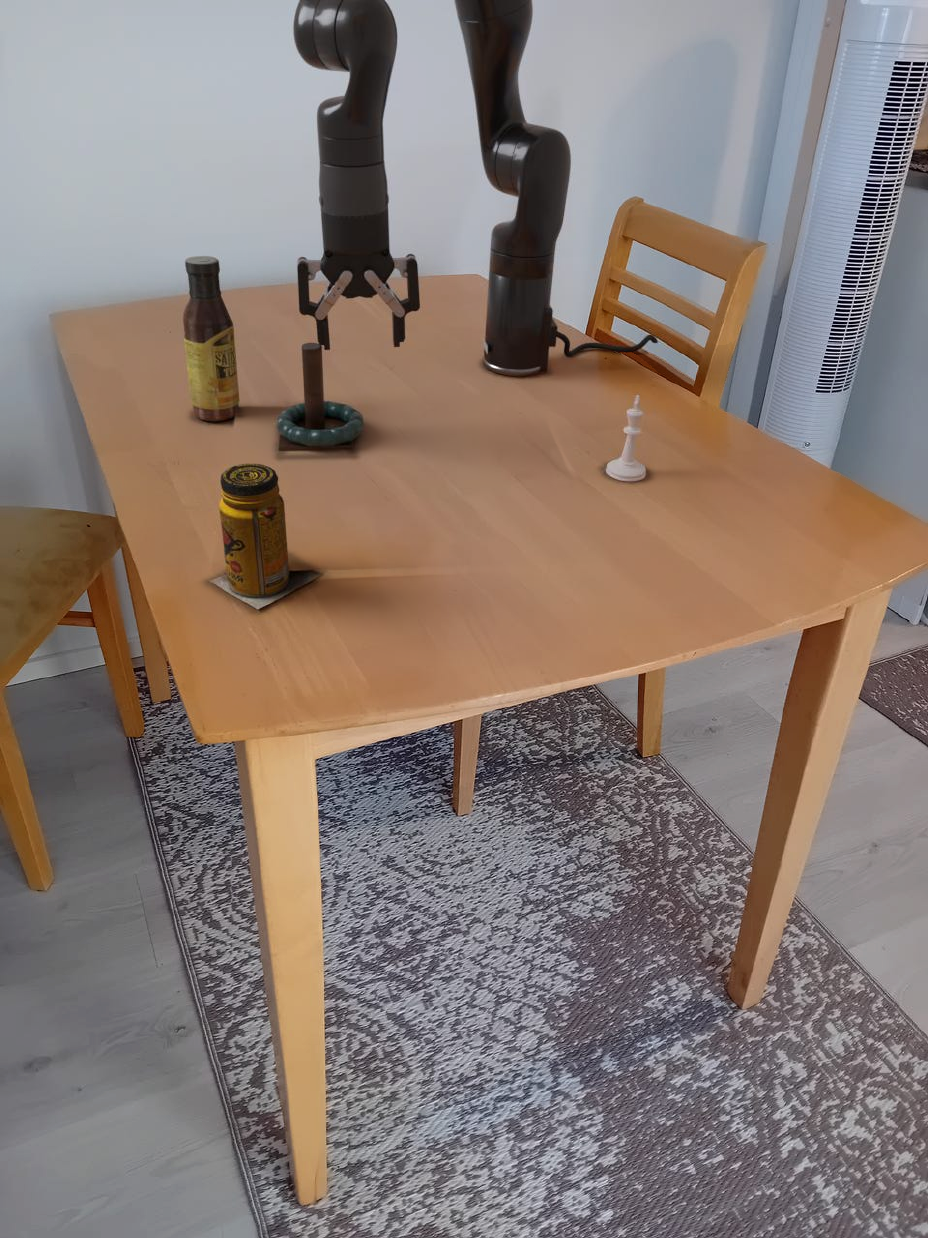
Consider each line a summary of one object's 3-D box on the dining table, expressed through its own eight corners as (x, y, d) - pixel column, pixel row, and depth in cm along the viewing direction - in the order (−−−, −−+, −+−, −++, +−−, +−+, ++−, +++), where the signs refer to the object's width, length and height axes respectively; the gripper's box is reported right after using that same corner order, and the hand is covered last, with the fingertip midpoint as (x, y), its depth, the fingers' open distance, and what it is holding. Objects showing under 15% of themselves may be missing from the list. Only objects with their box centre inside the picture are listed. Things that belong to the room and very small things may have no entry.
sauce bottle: (229, 426, 127) (213, 269, 115) (184, 420, 127) (164, 264, 116) (248, 407, 132) (235, 255, 120) (205, 401, 133) (188, 250, 121)
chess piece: (648, 468, 122) (661, 392, 117) (641, 484, 118) (654, 407, 113) (610, 460, 123) (621, 385, 118) (601, 476, 120) (612, 399, 114)
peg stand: (350, 426, 128) (348, 332, 121) (352, 456, 121) (350, 359, 114) (281, 427, 127) (274, 332, 120) (279, 457, 120) (272, 359, 113)
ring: (361, 412, 128) (361, 398, 127) (366, 448, 120) (365, 433, 119) (278, 413, 127) (277, 398, 126) (276, 449, 118) (275, 434, 117)
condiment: (209, 582, 97) (195, 473, 90) (275, 550, 102) (266, 445, 95) (257, 611, 93) (247, 500, 86) (323, 577, 99) (318, 469, 92)
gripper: (415, 194, 112) (417, 333, 122) (289, 197, 110) (302, 337, 120) (421, 211, 106) (423, 355, 116) (288, 214, 104) (302, 360, 114)
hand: (361, 346), depth 118 cm, fingers open, 8 cm apart
